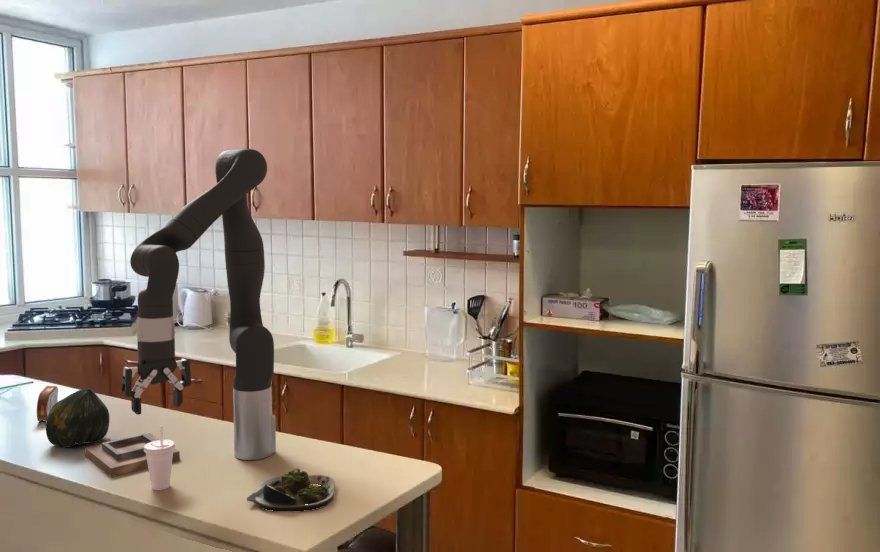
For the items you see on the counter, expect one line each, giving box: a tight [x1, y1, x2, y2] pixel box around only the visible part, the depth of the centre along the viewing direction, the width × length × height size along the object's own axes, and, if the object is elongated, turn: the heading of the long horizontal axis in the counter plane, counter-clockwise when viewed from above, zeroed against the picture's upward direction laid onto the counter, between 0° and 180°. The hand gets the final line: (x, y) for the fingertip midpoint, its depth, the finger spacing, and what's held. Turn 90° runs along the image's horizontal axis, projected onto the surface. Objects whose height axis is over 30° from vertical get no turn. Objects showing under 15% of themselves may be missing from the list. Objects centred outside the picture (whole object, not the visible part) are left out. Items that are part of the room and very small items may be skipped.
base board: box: [84, 432, 181, 477], centre depth 169 cm, size 16×18×4 cm
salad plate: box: [246, 468, 336, 512], centre depth 150 cm, size 19×18×5 cm
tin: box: [36, 385, 59, 422], centre depth 200 cm, size 15×3×8 cm, turn 17°
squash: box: [45, 387, 110, 448], centre depth 179 cm, size 14×15×15 cm
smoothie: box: [144, 424, 176, 491], centre depth 152 cm, size 6×6×14 cm
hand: (157, 409), depth 151 cm, fingers open, 8 cm apart
